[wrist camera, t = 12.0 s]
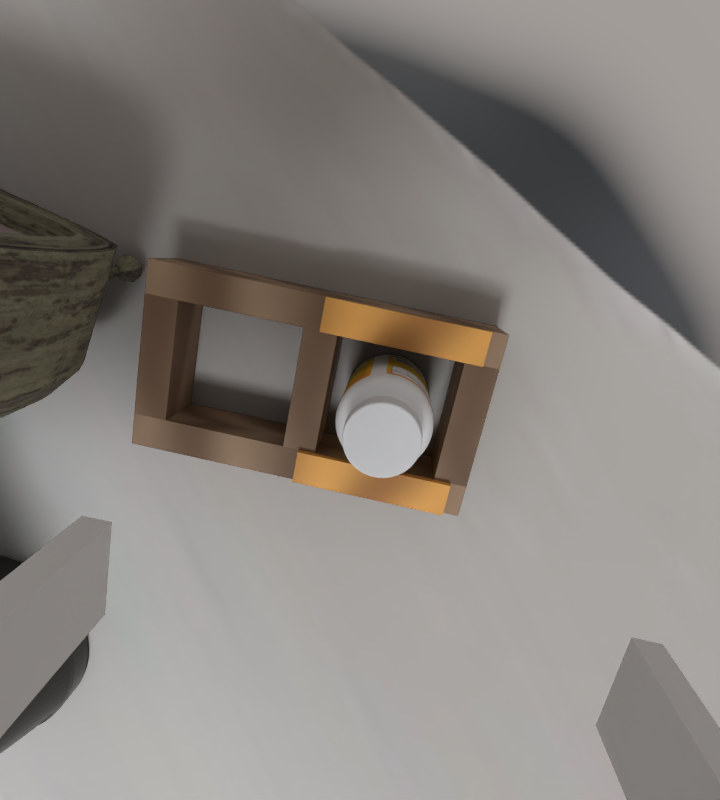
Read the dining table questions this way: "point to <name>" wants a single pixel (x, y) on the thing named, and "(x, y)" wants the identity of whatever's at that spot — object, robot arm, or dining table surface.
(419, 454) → the supplement bottle
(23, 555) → the dining table surface
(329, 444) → the rack
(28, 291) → the tabletop clock
